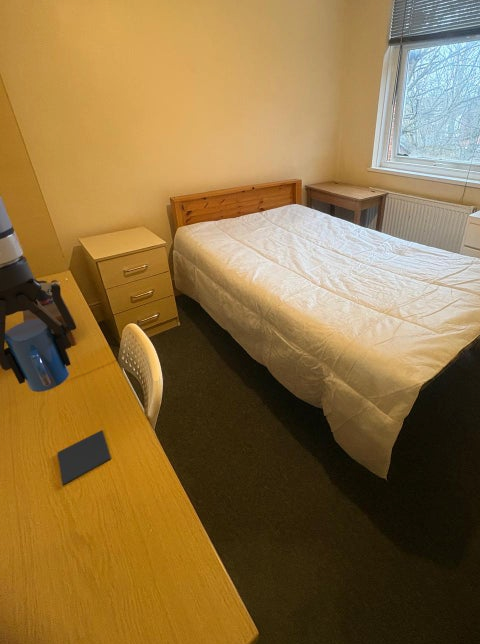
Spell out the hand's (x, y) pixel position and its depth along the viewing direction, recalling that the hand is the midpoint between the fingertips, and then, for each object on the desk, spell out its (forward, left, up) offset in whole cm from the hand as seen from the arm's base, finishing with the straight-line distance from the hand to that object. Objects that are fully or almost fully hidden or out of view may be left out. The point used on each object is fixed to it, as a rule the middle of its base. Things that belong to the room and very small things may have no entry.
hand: (45, 369), depth 61 cm
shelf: (-32, +37, -25) cm, 55 cm away
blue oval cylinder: (+1, -1, -2) cm, 3 cm away
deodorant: (-43, +49, -25) cm, 69 cm away
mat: (+1, -1, -25) cm, 25 cm away
